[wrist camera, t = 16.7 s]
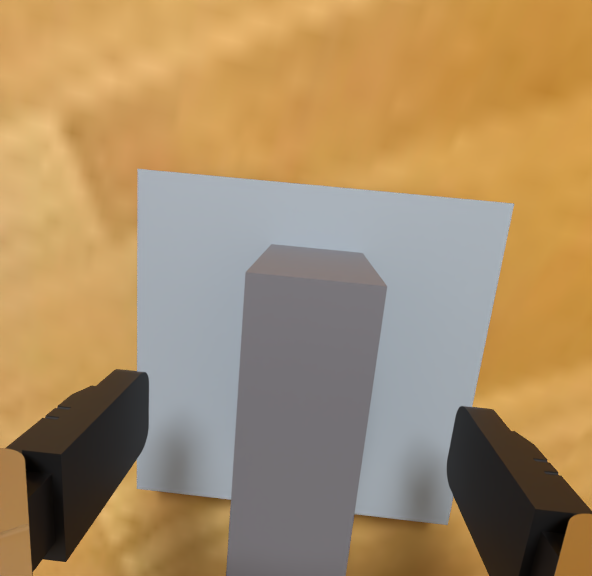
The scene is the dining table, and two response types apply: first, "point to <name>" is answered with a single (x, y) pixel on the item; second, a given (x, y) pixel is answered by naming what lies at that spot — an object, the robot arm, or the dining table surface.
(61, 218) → the dining table surface
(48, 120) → the dining table surface
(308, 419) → the lid
